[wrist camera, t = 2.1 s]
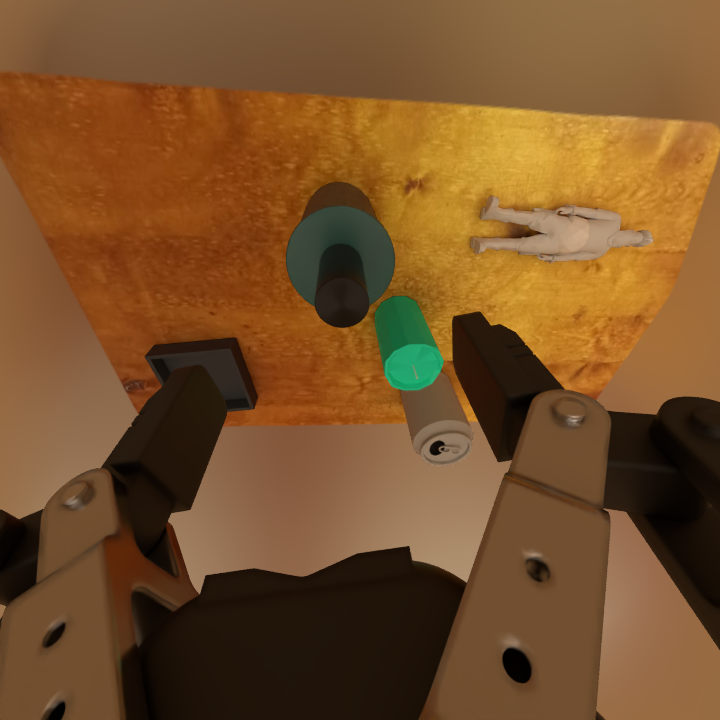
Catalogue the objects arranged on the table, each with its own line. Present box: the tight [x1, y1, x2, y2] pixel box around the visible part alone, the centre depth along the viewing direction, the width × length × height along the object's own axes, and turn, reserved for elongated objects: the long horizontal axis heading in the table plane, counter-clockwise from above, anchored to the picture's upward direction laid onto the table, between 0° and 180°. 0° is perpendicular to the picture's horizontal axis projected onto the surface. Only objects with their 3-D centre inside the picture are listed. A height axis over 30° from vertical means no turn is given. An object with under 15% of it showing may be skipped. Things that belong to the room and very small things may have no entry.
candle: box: [375, 296, 444, 391], centre depth 35 cm, size 6×6×12 cm
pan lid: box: [286, 205, 395, 328], centre depth 20 cm, size 8×8×7 cm
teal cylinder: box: [301, 182, 377, 221], centre depth 27 cm, size 7×7×12 cm
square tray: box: [145, 338, 258, 412], centre depth 42 cm, size 10×10×2 cm
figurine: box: [470, 196, 654, 263], centre depth 32 cm, size 7×4×18 cm
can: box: [400, 372, 473, 466], centre depth 42 cm, size 8×8×12 cm
